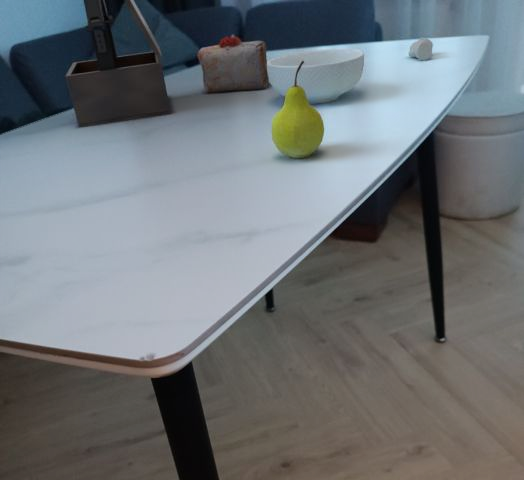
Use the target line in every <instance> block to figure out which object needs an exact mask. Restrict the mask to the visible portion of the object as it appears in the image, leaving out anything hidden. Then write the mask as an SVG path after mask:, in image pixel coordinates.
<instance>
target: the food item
mask: <svg viewBox="0 0 524 480" xmlns="http://www.w3.org/2000/svg"><path fill="white" fill-rule="evenodd" d="M197 58H198V62H199V65H200V67H201V71H202V83H203V88H204V92H205V94H217V93H218V94H219V93H225V92H227V93H228V92H240V91H255V90H265V89H267V88H269V85H270V81H269V78H268V73H267V62H268V59H267V44H266V42H265V41H263V40H253V41H242V39H241V38H240V37H237V36H235V34H234V33H232V34H231V35H230V37H228V35H226V36H225V37H223V38H221V39H220V42H219V43H218V44H215V45H210V46H206V47H201V48H200V49H199V51H197Z"/></svg>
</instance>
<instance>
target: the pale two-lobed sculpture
mask: <svg viewBox="0 0 524 480" xmlns="http://www.w3.org/2000/svg"><path fill="white" fill-rule="evenodd" d="M433 47H434V46H433V42H432V41H431V40H430V39H429V38H425V37H424V38H423V37H420V38H419V39H418V40H416V41H415V42H413V43H412V44H411V45H410V47H409V51H408V56H409V57H412V58H415V59H418V60H419V61H421V62H423V61H429V60H430V59H431V57H432V55H433Z"/></svg>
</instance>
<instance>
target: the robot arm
mask: <svg viewBox="0 0 524 480" xmlns="http://www.w3.org/2000/svg"><path fill="white" fill-rule="evenodd" d="M83 4H84V5H83V6H84V10H85V11H84V12H85V15H86V20H87V23H86V24H87V25H85V26H84V29H85V32H86V33H90V36H91V40H92V45H93V49H94V53H95V58H96V59H97V62H98V67H99V71H102V70H109V69H115V65H114V61H118V59H117V57H118V55H117V50H116V47H115V41H114V37H113V32H112V27H111V22H113V20H114V19H113V16H112V14H109V11H108V9H107V4H106V0H83Z"/></svg>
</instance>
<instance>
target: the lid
mask: <svg viewBox="0 0 524 480" xmlns="http://www.w3.org/2000/svg"><path fill="white" fill-rule="evenodd" d="M124 1H125V3H126V5H127V7H128V9H129V11H130V12H131V14H132V16H133V18H134V19H135V21H136V24H137V25H138V27H139V28H140V30H141V32H142V34H143V35H144V37H145V39H146V41H147V43H148V45H149V46H150V48H151V50H152V52H154V53H155V55H156V57H157V58H158V60H159V61H160V60H161V61H162V60H163V54H162V50H161V47H160V45H159V43H158V41H157V40H156V38H155V36H154V34H153V32H152V30H151V29H150V27H149V25H148V23H147V22H146V19H145V18H144V16H143V14H142V12H141V11H140V9H139V7H138V6H137V4H136V2H135V0H124Z"/></svg>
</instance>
